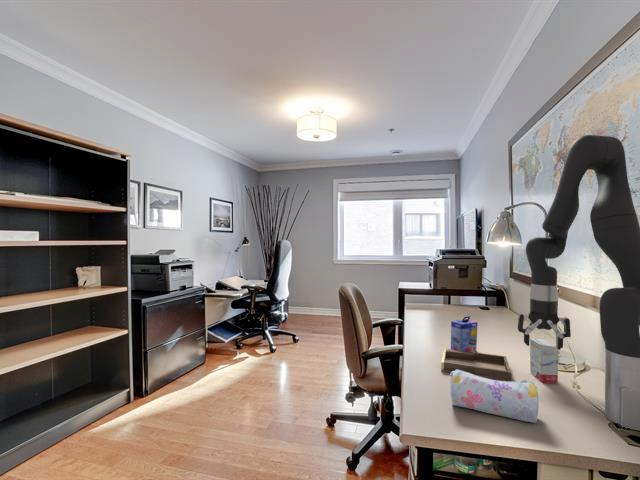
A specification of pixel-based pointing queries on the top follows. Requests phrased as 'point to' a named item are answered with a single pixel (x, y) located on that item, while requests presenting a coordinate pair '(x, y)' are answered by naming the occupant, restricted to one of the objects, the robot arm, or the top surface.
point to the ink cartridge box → (464, 335)
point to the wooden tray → (476, 364)
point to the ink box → (544, 361)
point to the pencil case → (495, 396)
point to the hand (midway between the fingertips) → (542, 347)
